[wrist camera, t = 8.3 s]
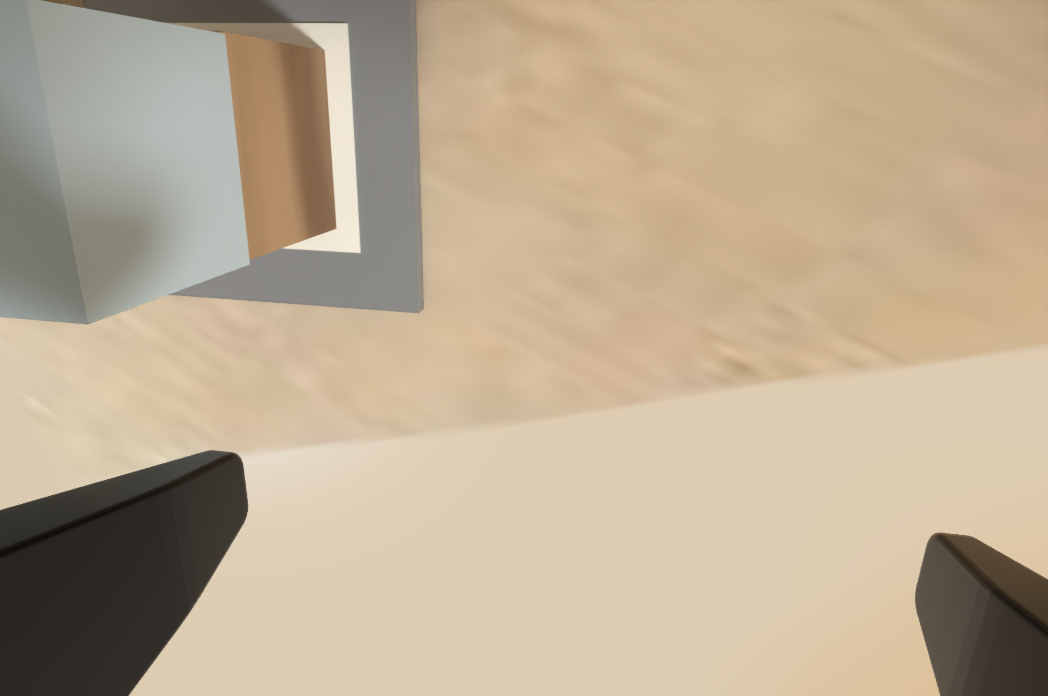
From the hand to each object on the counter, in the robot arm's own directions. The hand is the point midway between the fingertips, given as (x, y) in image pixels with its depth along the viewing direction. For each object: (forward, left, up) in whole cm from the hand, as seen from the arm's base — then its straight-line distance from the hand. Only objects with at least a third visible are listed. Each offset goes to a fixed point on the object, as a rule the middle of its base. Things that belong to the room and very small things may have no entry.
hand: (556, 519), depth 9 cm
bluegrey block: (+11, -4, -7) cm, 13 cm away
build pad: (+11, -4, -12) cm, 17 cm away
